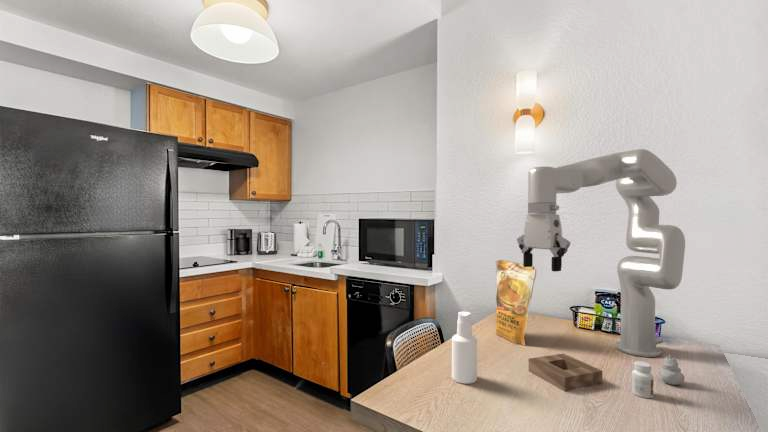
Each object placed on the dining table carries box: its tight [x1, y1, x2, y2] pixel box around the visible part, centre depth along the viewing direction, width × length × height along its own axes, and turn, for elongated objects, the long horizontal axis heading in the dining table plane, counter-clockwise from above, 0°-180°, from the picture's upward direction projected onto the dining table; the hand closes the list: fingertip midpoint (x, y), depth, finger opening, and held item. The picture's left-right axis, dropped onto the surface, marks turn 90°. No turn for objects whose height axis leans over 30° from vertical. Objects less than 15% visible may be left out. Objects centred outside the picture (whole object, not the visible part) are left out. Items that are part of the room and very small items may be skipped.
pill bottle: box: [631, 360, 654, 399], centre depth 91 cm, size 4×4×8 cm
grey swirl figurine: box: [658, 354, 685, 386], centre depth 97 cm, size 5×7×8 cm
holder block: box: [528, 353, 603, 392], centre depth 100 cm, size 13×13×4 cm
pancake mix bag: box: [494, 259, 537, 346], centre depth 133 cm, size 7×19×28 cm, turn 20°
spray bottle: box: [451, 311, 478, 385], centre depth 99 cm, size 7×7×18 cm
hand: (541, 268), depth 104 cm, fingers open, 9 cm apart
